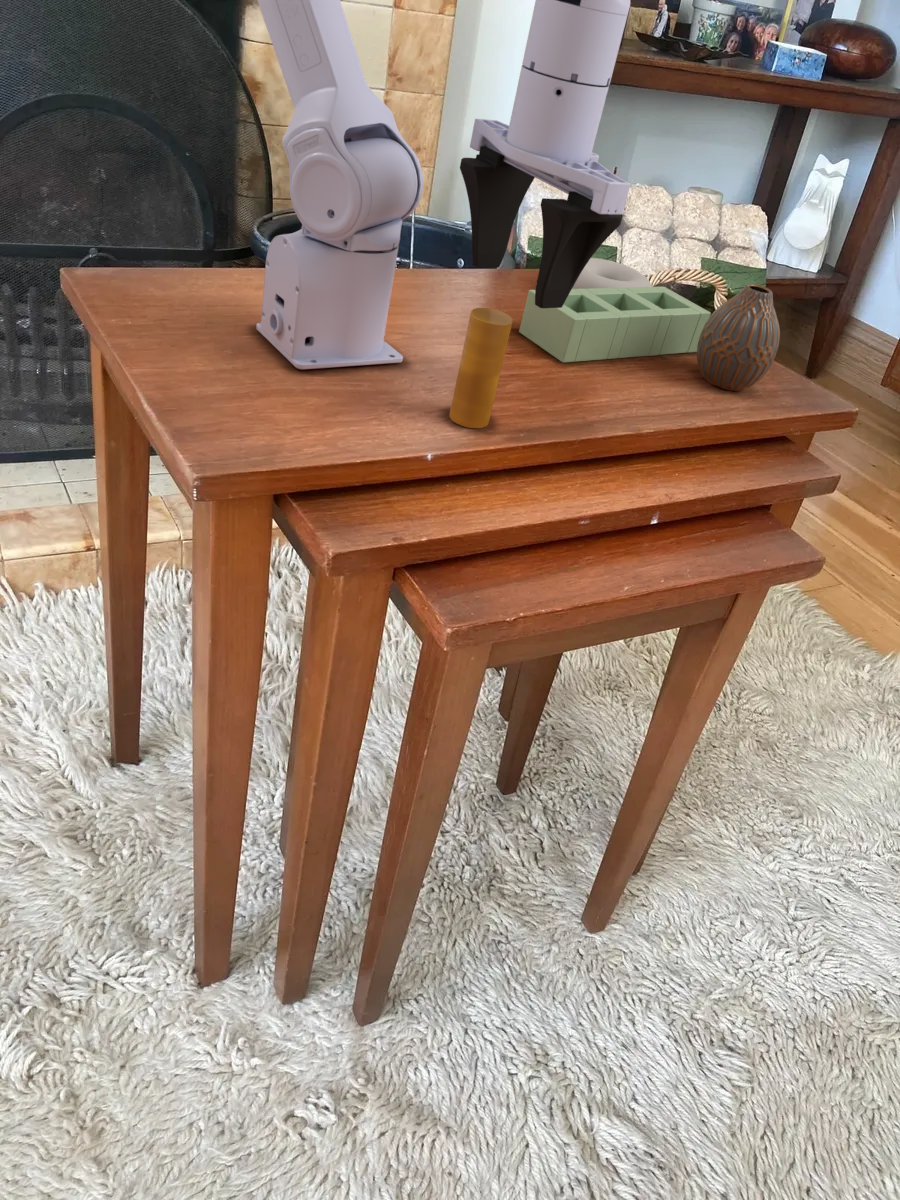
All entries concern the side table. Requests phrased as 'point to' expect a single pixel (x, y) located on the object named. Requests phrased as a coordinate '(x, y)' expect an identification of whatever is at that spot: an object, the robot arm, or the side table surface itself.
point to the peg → (480, 367)
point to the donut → (609, 276)
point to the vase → (739, 340)
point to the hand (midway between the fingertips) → (516, 285)
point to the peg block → (615, 324)
